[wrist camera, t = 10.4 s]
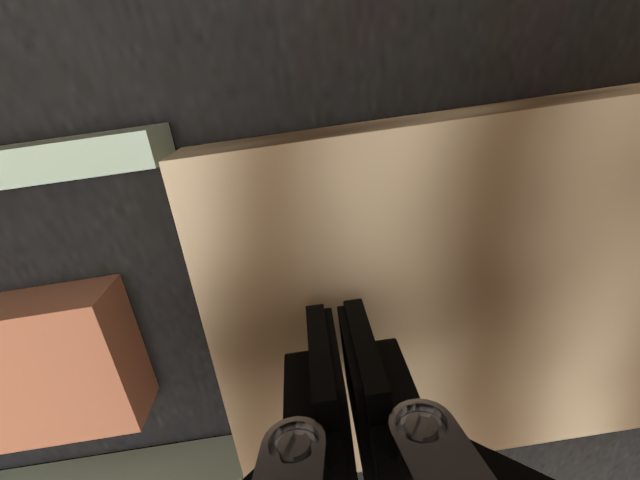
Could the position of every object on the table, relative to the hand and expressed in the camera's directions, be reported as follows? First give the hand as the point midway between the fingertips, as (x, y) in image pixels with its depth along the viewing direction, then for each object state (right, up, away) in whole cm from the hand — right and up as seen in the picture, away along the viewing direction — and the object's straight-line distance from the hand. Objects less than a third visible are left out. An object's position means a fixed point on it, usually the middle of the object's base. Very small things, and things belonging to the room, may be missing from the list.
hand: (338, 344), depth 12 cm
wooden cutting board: (+5, +2, +3) cm, 6 cm away
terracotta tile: (-10, -1, +3) cm, 10 cm away
